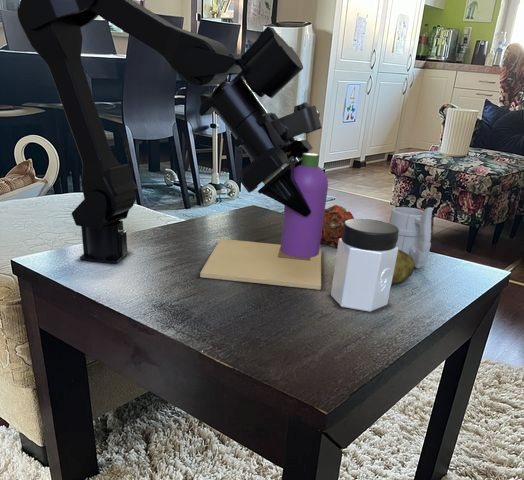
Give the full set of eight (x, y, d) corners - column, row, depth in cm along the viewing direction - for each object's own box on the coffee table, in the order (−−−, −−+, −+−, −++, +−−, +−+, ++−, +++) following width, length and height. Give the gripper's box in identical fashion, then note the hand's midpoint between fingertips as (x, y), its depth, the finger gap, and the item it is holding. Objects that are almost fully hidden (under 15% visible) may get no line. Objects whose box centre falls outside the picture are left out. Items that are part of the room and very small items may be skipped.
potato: (421, 292, 90) (431, 245, 86) (345, 288, 89) (353, 241, 85) (407, 274, 97) (416, 231, 93) (337, 270, 96) (343, 227, 92)
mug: (406, 255, 107) (418, 194, 102) (439, 276, 98) (455, 210, 92) (372, 256, 105) (383, 194, 100) (402, 277, 95) (417, 210, 90)
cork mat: (200, 277, 88) (200, 272, 88) (220, 242, 106) (220, 238, 105) (320, 289, 87) (321, 284, 87) (320, 252, 105) (321, 248, 104)
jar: (362, 316, 79) (376, 237, 73) (320, 298, 84) (331, 223, 78) (396, 302, 85) (411, 228, 79) (355, 286, 90) (367, 215, 84)
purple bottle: (284, 257, 79) (295, 156, 73) (276, 244, 84) (285, 149, 78) (323, 258, 80) (337, 159, 74) (313, 245, 86) (325, 152, 79)
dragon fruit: (336, 261, 106) (318, 251, 117) (371, 236, 105) (350, 228, 116) (315, 225, 102) (298, 218, 113) (351, 199, 102) (330, 194, 113)
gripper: (271, 80, 64) (347, 187, 67) (306, 80, 80) (366, 166, 83) (208, 142, 70) (281, 238, 73) (253, 130, 86) (311, 209, 88)
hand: (313, 210), depth 79 cm, fingers closed on purple bottle, 6 cm apart
